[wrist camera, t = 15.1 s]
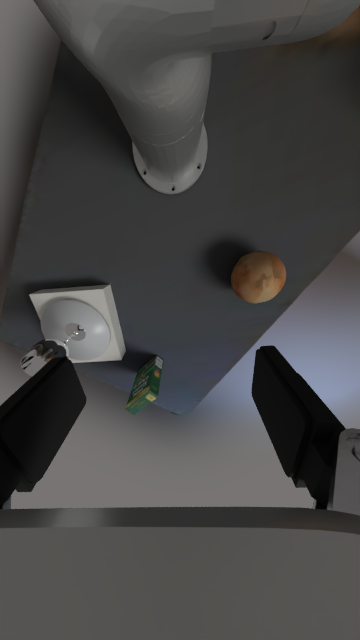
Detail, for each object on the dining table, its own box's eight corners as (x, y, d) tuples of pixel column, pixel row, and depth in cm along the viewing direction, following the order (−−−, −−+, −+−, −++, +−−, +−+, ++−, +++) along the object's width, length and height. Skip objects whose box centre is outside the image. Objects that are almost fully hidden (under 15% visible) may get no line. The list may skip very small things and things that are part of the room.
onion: (247, 303, 43) (264, 321, 33) (216, 276, 40) (226, 287, 31) (281, 271, 39) (310, 281, 30) (250, 239, 37) (272, 239, 28)
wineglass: (62, 339, 41) (18, 376, 30) (62, 317, 39) (15, 348, 28) (87, 345, 42) (53, 384, 31) (89, 324, 39) (53, 357, 29)
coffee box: (157, 353, 49) (148, 390, 37) (164, 359, 50) (158, 398, 38) (137, 369, 51) (123, 409, 39) (145, 375, 52) (133, 416, 40)
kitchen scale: (40, 289, 42) (21, 296, 37) (110, 284, 41) (100, 290, 36) (66, 354, 49) (53, 367, 45) (126, 350, 49) (119, 363, 44)
